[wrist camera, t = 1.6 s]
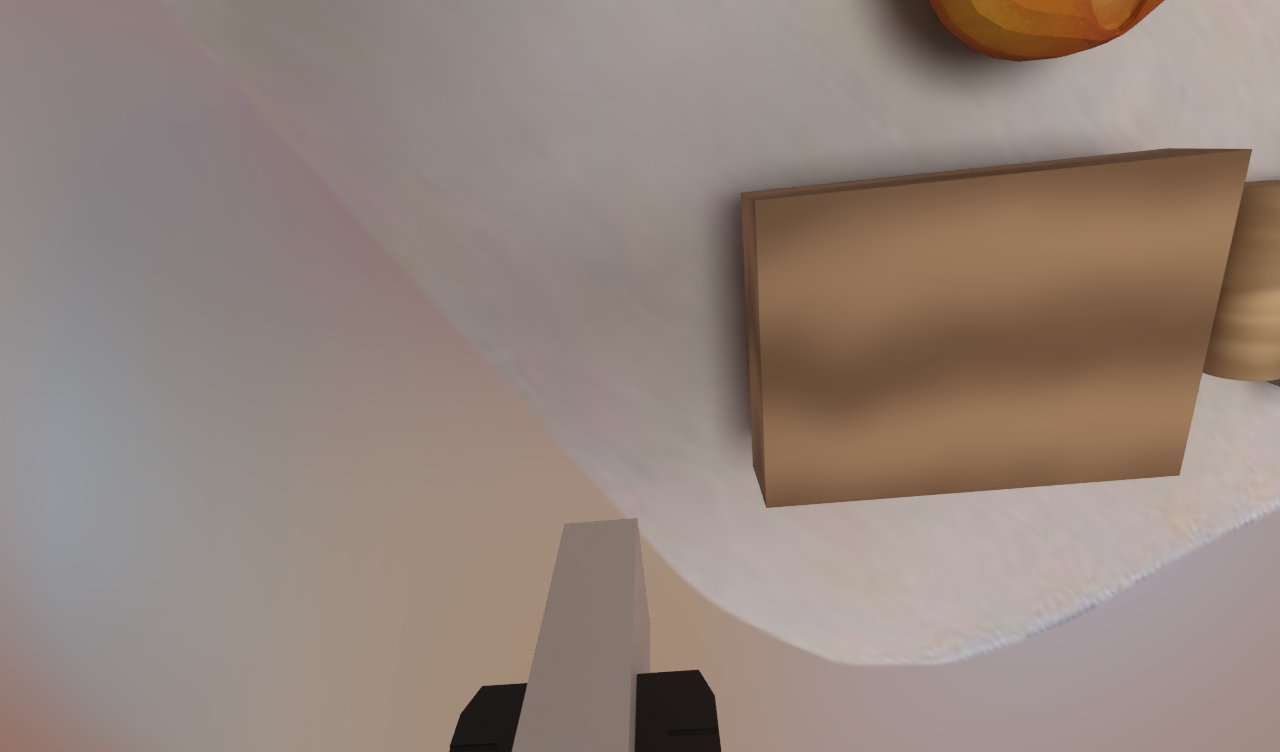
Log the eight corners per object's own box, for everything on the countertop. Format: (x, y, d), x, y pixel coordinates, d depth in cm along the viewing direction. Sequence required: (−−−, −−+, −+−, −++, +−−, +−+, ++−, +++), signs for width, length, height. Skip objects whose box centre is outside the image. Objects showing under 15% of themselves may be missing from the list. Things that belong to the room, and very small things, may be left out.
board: (741, 192, 24) (755, 200, 21) (1167, 148, 23) (1252, 149, 20) (753, 465, 28) (766, 507, 25) (1116, 435, 28) (1179, 475, 24)
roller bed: (744, 233, 28) (755, 243, 25) (1284, 178, 27) (1359, 182, 24) (751, 398, 31) (762, 424, 28) (1241, 355, 29) (1304, 377, 27)
